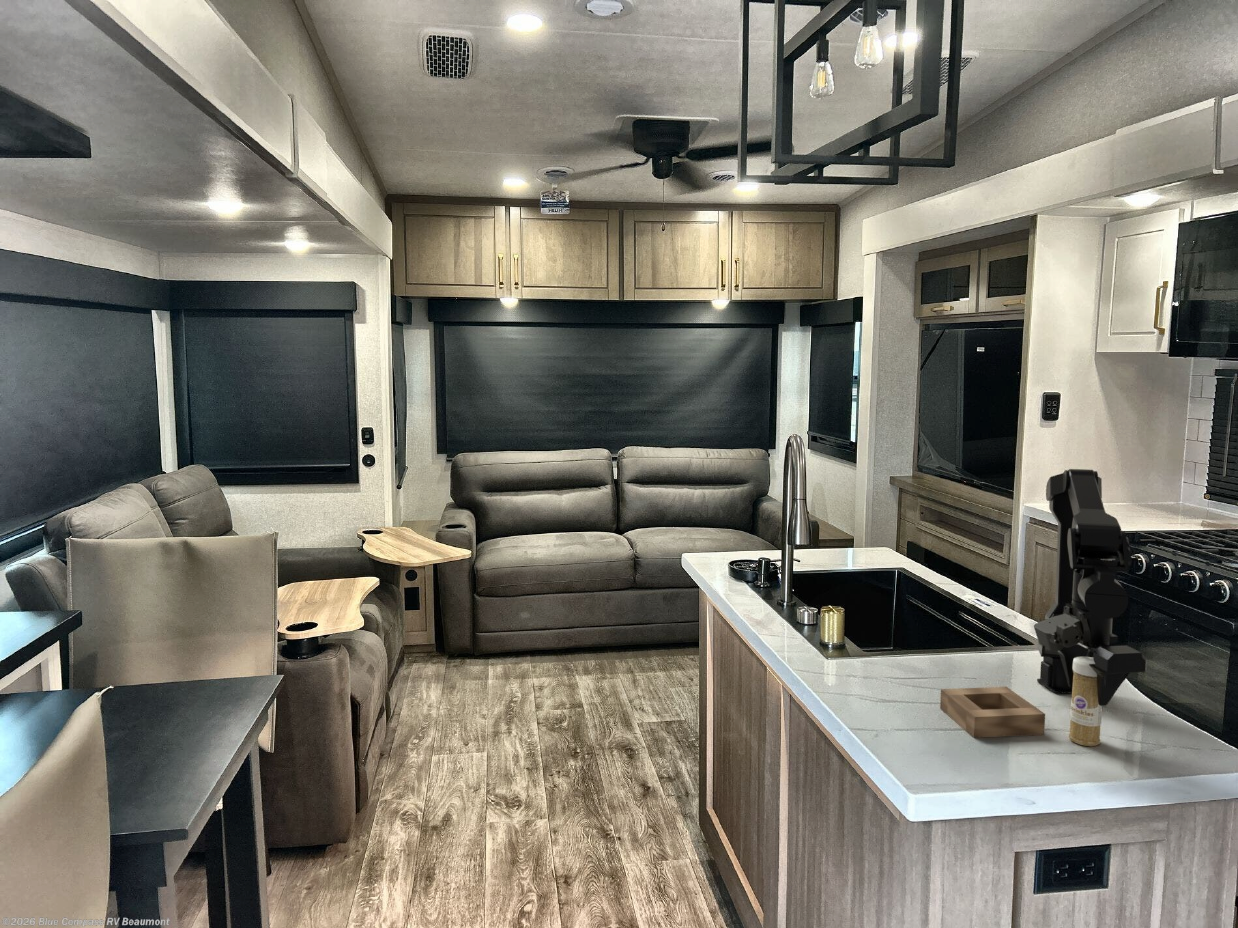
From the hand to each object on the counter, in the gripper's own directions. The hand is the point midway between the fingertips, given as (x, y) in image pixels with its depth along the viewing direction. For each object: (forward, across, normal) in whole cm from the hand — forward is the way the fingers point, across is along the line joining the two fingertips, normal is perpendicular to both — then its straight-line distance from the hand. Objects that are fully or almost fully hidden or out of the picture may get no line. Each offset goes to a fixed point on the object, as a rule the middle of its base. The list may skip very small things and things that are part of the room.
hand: (1087, 695), depth 138 cm
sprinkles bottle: (+8, 0, 0) cm, 8 cm away
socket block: (+8, -9, -11) cm, 16 cm away
